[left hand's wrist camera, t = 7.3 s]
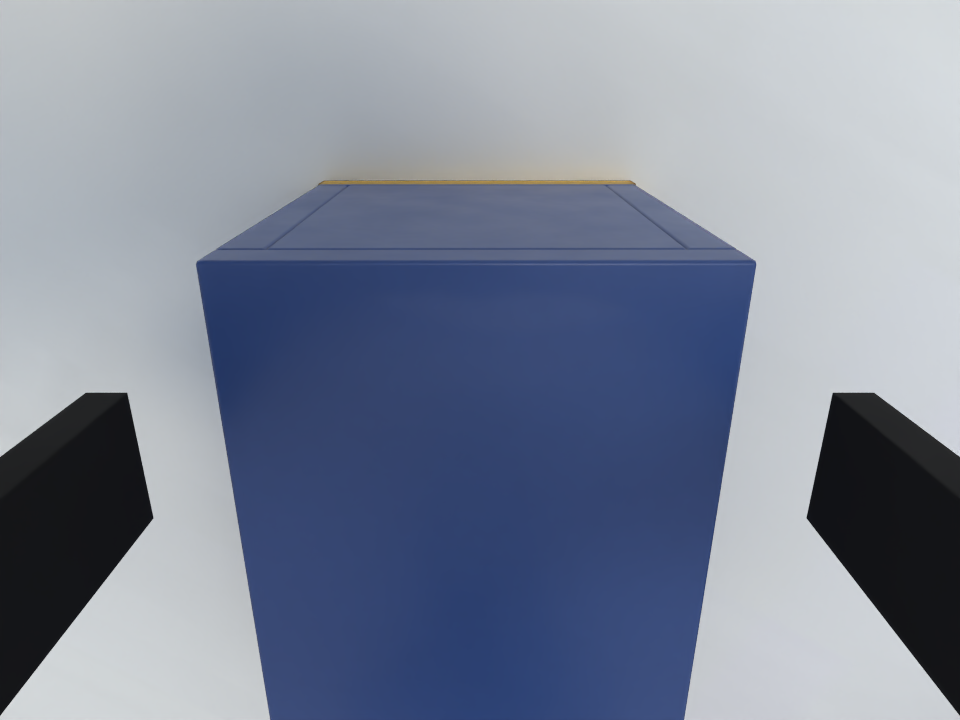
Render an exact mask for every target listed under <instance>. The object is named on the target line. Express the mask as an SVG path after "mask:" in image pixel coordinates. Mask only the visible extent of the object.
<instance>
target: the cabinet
mask: <svg viewBox="0 0 960 720" xmlns="http://www.w3.org/2000/svg"><path fill="white" fill-rule="evenodd" d="M196 266H197V273H198V279H199V285H200V291H201V297H202V303H203V309H204V315H205V322H206V328H207V334H208V340H209V346H210V352H211V358H212V365H213V371H214V377H215V383H216V389H217V395H218V401H219V407H220V414H221V420H222V426H223V432H224V438H225V444H226V450H227V457H228V463H229V469H230V475H231V481H232V487H233V493H234V499H235V506H236V512H237V518H238V524H239V530H240V536H241V542H242V549H243V555H244V561H245V567H246V573H247V579H248V585H249V591H250V598H251V604H252V610H253V616H254V622H255V628H256V634H257V641H258V647H259V653H260V659H261V665H262V671H263V677H264V683H265V690H266V696H267V702H268V708H269V714H270V720H684V716H685V710H686V704H687V697H688V691H689V685H690V678H691V672H692V666H693V659H694V653H695V647H696V641H697V634H698V628H699V622H700V615H701V609H702V603H703V596H704V590H705V584H706V578H707V571H708V565H709V559H710V552H711V546H712V540H713V533H714V527H715V521H716V515H717V508H718V502H719V496H720V489H721V483H722V477H723V470H724V464H725V458H726V452H727V445H728V439H729V433H730V426H731V420H732V414H733V407H734V401H735V395H736V389H737V382H738V376H739V370H740V363H741V357H742V351H743V344H744V338H745V332H746V326H747V319H748V313H749V307H750V300H751V294H752V288H753V281H754V275H755V269H756V262H755V260H753V259H751V258H750V257H748V256H747V255H745V254H743V253H742V252H740V251H739V250H736V248H734V247H732V246H731V245H729V244H728V243H726V242H724V241H723V240H721V239H720V238H718V237H717V236H715V235H713V234H712V233H710V232H709V231H707V230H705V229H704V228H702V227H701V226H699V225H698V224H696V223H694V222H693V221H691V220H690V219H688V218H686V217H685V216H683V215H682V214H680V213H678V212H677V211H675V210H674V209H672V208H671V207H669V206H667V205H666V204H664V203H663V202H661V201H659V200H658V199H656V198H655V197H653V196H652V195H650V194H648V193H647V192H645V191H644V190H642V189H640V188H639V187H637V186H636V184H635V183H633V182H632V181H323V182H321V183H319V185H318V186H317V187H315V188H314V189H312V190H310V191H309V192H307V193H306V194H304V195H302V196H301V197H299V198H298V199H296V200H294V201H293V202H291V203H290V204H288V205H286V206H285V207H283V208H282V209H280V210H278V211H277V212H275V213H274V214H272V215H270V216H269V217H267V218H265V219H264V220H262V221H261V222H259V223H257V224H256V225H254V226H253V227H251V228H249V229H248V230H246V231H245V232H243V233H241V234H240V235H238V236H237V237H235V238H233V239H232V240H230V241H229V242H227V243H225V244H224V245H222V246H221V247H219V248H217V249H216V250H215V251H213V252H211V253H210V254H208V255H206V256H205V257H203V258H202V259H200V260H198V261H197V264H196Z"/></svg>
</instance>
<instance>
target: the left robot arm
mask: <svg viewBox="0 0 960 720" xmlns="http://www.w3.org/2000/svg"><path fill="white" fill-rule="evenodd" d="M152 519H153V514H152V509H151V504H150V500H149V495H148V490H147V485H146V481H145V476H144V471H143V466H142V461H141V457H140V452H139V447H138V442H137V438H136V433H135V428H134V423H133V418H132V414H131V409H130V404H129V399H128V395H127V393H85V394H84V395H82V396H81V397H80V398H78V399H77V400H76V401H74V402H73V403H72V404H70V405H69V406H68V407H66V408H65V409H64V410H62V411H61V412H60V413H58V414H57V415H56V416H54V417H53V418H52V419H50V420H49V421H48V422H46V423H45V424H44V425H42V426H41V427H40V428H38V429H37V430H36V431H34V432H33V433H32V434H30V435H29V436H28V437H26V438H25V439H24V440H22V441H21V442H20V443H18V444H17V445H16V446H14V447H13V448H12V449H10V450H9V451H8V452H6V453H5V454H4V455H2V456H1V457H0V715H1V714H2V713H3V711H4V710H5V709H6V707H7V706H8V705H9V704H10V702H11V701H12V700H13V698H14V697H15V696H16V695H17V693H18V692H19V691H20V689H21V688H22V687H23V686H24V684H25V683H26V682H27V680H28V679H29V678H30V677H31V675H32V674H33V673H34V671H35V670H36V669H37V667H38V666H39V665H40V664H41V662H42V661H43V660H44V658H45V657H46V656H47V655H48V653H49V652H50V651H51V649H52V648H53V647H54V646H55V644H56V643H57V642H58V640H59V639H60V638H61V637H62V635H63V634H64V633H65V631H66V630H67V629H68V628H69V626H70V625H71V624H72V622H73V621H74V620H75V619H76V617H77V616H78V615H79V613H80V612H81V611H82V610H83V608H84V607H85V606H86V604H87V603H88V602H89V601H90V599H91V598H92V597H93V595H94V594H95V593H96V591H97V590H98V589H99V588H100V586H101V585H102V584H103V582H104V581H105V580H106V579H107V577H108V576H109V575H110V573H111V572H112V571H113V570H114V568H115V567H116V566H117V564H118V563H119V562H120V561H121V559H122V558H123V557H124V555H125V554H126V553H127V552H128V550H129V549H130V548H131V546H132V545H133V544H134V543H135V541H136V540H137V539H138V537H139V536H140V535H141V534H142V532H143V531H144V530H145V528H146V527H147V526H148V524H149V523H150V522H151V521H152ZM807 519H808V521H809V522H810V523H811V524H812V526H813V527H814V528H815V530H816V531H817V532H818V534H819V535H820V536H821V537H822V539H823V540H824V541H825V543H826V544H827V545H828V546H829V548H830V549H831V550H832V552H833V553H834V554H835V555H836V557H837V558H838V559H839V561H840V562H841V563H842V564H843V566H844V567H845V568H846V570H847V571H848V572H849V573H850V575H851V576H852V577H853V579H854V580H855V581H856V582H857V584H858V585H859V586H860V588H861V589H862V590H863V591H864V593H865V594H866V595H867V597H868V598H869V599H870V601H871V602H872V603H873V604H874V606H875V607H876V608H877V610H878V611H879V612H880V613H881V615H882V616H883V617H884V619H885V620H886V621H887V622H888V624H889V625H890V626H891V628H892V629H893V630H894V631H895V633H896V634H897V635H898V637H899V638H900V639H901V640H902V642H903V643H904V644H905V646H906V647H907V648H908V649H909V651H910V652H911V653H912V655H913V656H914V657H915V658H916V660H917V661H918V662H919V664H920V665H921V666H922V667H923V669H924V670H925V671H926V673H927V674H928V675H929V677H930V678H931V679H932V680H933V682H934V683H935V684H936V686H937V687H938V688H939V689H940V691H941V692H942V693H943V695H944V696H945V697H946V698H947V700H948V701H949V702H950V704H951V705H952V706H953V707H954V709H955V710H956V711H957V713H958V714H959V715H960V457H959V456H958V455H956V454H955V453H954V452H952V451H951V450H950V449H948V448H947V447H946V446H944V445H943V444H942V443H940V442H939V441H938V440H936V439H935V438H934V437H932V436H931V435H930V434H928V433H927V432H926V431H924V430H923V429H922V428H920V427H919V426H918V425H916V424H915V423H914V422H912V421H911V420H910V419H908V418H907V417H906V416H904V415H903V414H902V413H900V412H899V411H898V410H896V409H895V408H894V407H892V406H891V405H890V404H888V403H887V402H886V401H884V400H883V399H882V398H880V397H879V396H878V395H876V394H875V393H833V395H832V399H831V404H830V409H829V414H828V418H827V423H826V428H825V433H824V438H823V442H822V447H821V452H820V457H819V461H818V466H817V471H816V476H815V480H814V485H813V490H812V495H811V500H810V504H809V509H808V514H807Z"/></svg>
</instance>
